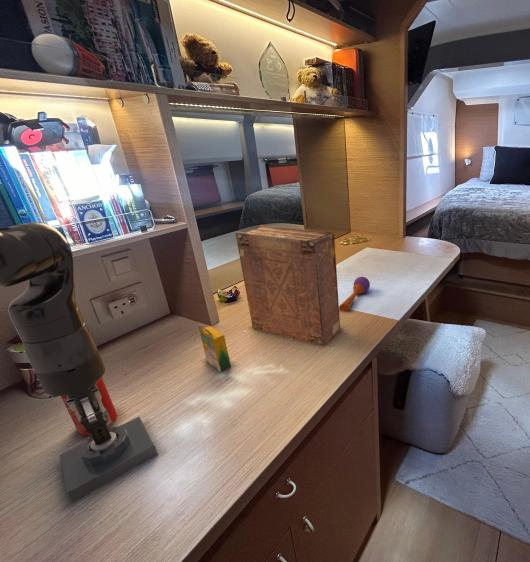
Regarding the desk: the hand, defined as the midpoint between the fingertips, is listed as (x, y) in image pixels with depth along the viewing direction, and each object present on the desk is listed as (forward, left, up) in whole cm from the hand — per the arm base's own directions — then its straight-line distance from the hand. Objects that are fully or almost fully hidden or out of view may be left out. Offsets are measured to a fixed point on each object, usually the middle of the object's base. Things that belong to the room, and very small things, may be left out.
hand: (103, 440), depth 58 cm
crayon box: (+25, +14, -6) cm, 29 cm away
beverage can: (0, +12, -6) cm, 13 cm away
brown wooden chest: (+48, +14, -6) cm, 50 cm away
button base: (0, 0, -5) cm, 5 cm away
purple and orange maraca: (+74, +16, -6) cm, 76 cm away
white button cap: (0, 0, -2) cm, 2 cm away
